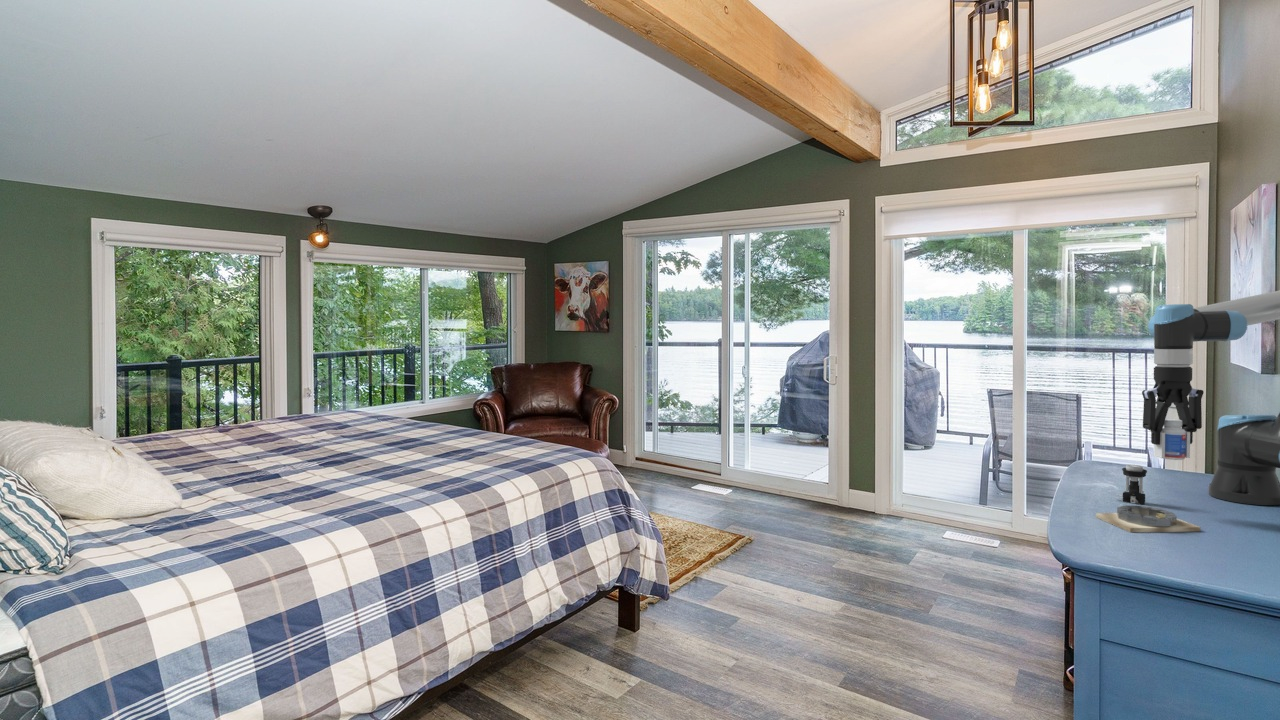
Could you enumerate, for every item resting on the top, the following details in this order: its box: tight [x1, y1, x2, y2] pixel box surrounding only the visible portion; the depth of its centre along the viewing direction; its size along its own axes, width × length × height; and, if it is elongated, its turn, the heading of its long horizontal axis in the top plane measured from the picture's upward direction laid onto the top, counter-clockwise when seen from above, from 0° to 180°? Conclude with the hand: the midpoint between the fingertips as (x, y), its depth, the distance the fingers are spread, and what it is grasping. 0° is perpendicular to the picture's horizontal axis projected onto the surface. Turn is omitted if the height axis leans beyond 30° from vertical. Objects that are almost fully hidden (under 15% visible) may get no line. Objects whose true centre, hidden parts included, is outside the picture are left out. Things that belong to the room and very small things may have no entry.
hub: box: [1116, 504, 1178, 527], centre depth 156 cm, size 11×11×3 cm
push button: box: [1115, 464, 1148, 506], centre depth 175 cm, size 7×5×10 cm
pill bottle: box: [1161, 418, 1186, 461], centre depth 163 cm, size 6×5×10 cm
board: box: [1095, 512, 1201, 533], centre depth 156 cm, size 16×12×1 cm
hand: (1171, 456), depth 163 cm, fingers closed on pill bottle, 5 cm apart
